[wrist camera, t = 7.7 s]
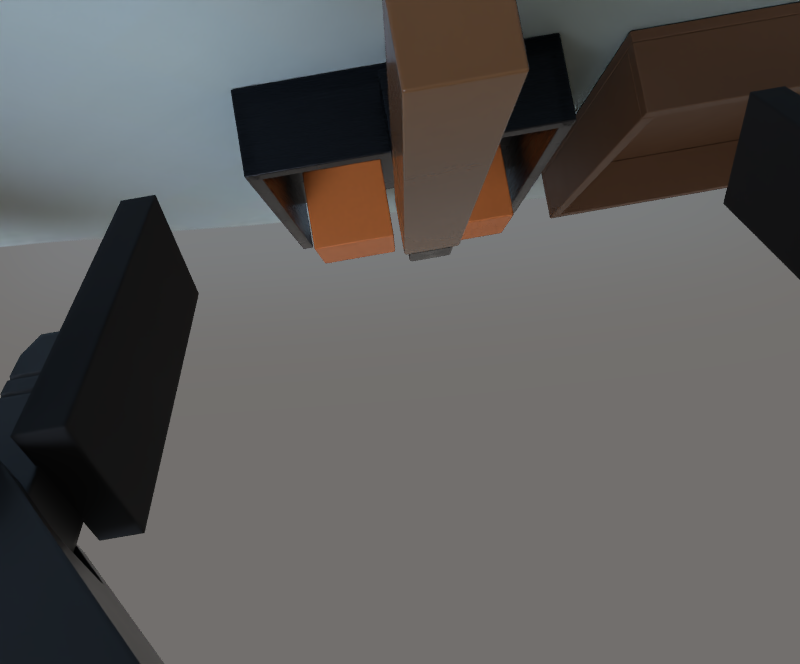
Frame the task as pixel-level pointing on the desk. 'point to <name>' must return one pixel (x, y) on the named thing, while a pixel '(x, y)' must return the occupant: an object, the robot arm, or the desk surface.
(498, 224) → the block
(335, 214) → the block
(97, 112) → the desk surface
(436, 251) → the pan
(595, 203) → the tray
